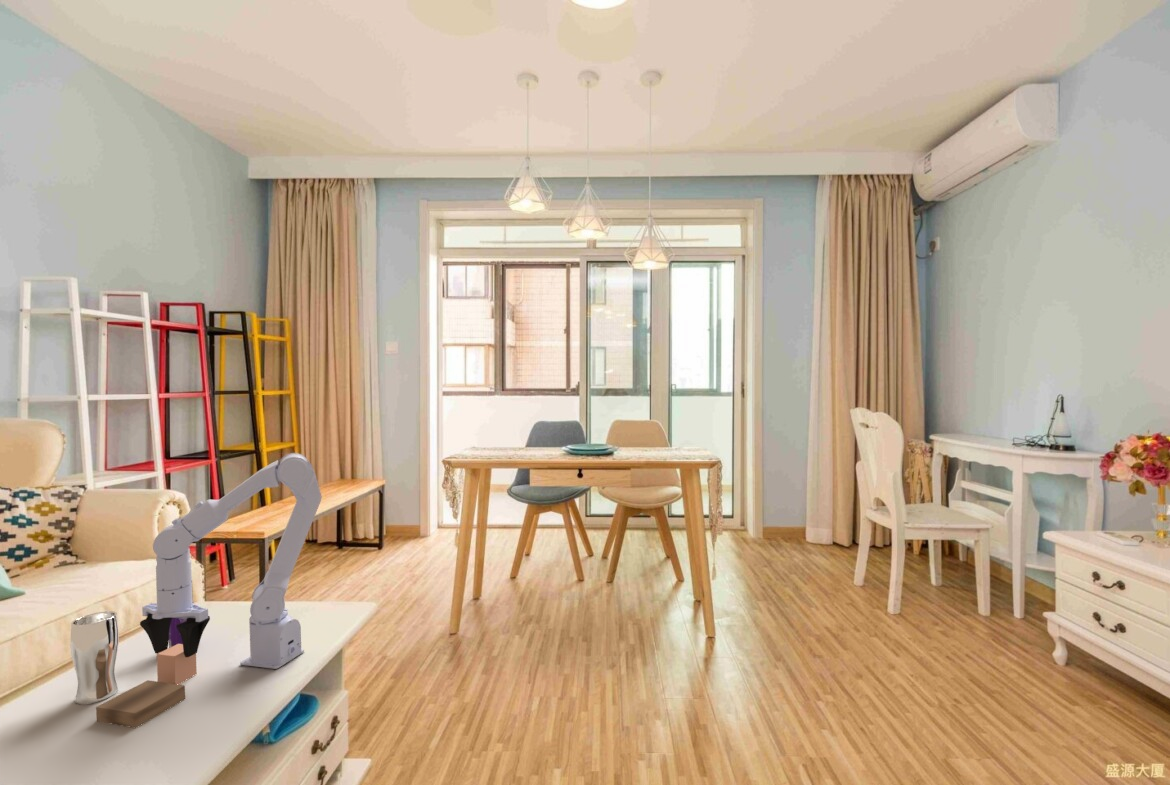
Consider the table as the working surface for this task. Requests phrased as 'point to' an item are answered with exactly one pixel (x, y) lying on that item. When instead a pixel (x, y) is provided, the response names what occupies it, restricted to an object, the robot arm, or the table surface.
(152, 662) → the table surface
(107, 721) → the walnut base
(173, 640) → the container
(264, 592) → the robot arm
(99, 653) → the beer glass
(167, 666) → the terracotta block
